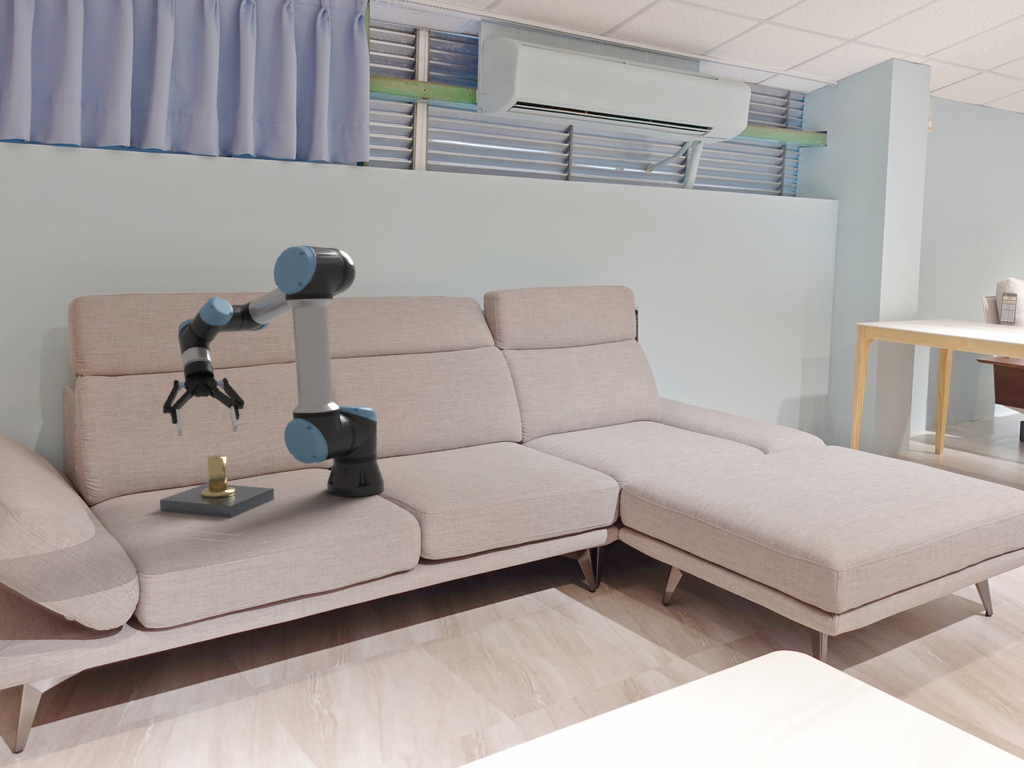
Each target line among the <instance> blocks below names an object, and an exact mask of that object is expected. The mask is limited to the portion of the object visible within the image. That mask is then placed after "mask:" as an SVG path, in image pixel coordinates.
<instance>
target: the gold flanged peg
mask: <svg viewBox="0 0 1024 768" xmlns="http://www.w3.org/2000/svg"><path fill="white" fill-rule="evenodd" d="M227 467H228V466H227V455H223V454H218V455H217V454H214V455H211V456H210V455H209V456H207V478H208V480H207V481H208V483H209V488H206V489H203V490H202V491H201V496H202V497H205V498H222V497H228V496H231V495H234V494H235V488H234V487H229V486H227V485H228V468H227Z"/></svg>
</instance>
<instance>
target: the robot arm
mask: <svg viewBox="0 0 1024 768" xmlns="http://www.w3.org/2000/svg"><path fill="white" fill-rule="evenodd" d="M273 279H274V283H275V285H276V286H277V288H275V289H272V290H270V291H269V292H267V293H264V294H263V295H261V296H259V297H257V298H255V299H252V300H251V301H249V302H247V303H244V304H231V303H230V302H229V301H227V299H224V298H220V297H219V296H217V297H214V296H213V297H211V298H208V300H207V301H206V302H205V304H203V305H202V306H201V307H200V309H199V311H198V312H197V314H196V315H195V316H194V318H188V319H186V320H184V321H181V323H180V324H179V325H178V328H177V331H178V332H177V333H178V334H177V335H178V336H177V339H178V342H179V349H180V355H181V360H182V362H181V363H182V368H183V375H184V382H183V381H179V380H178V379H174V380H173V387H172V389H171V391H170V392H169V395H168V397H167V399H166V400H165V402H164V404H163V409H162V413H163V414H170V417H171V423H172V424H173V425H176V427H177V435H178V436H179V437H180V436H182V435H183V434H182V433H183V426H182V420H181V413H180V410H181V409H182V408H183V406H185V405H186V404H187V402H189V401H190V400H191V399H192V398H193V397H195V398H200V397H204V398H206V397H207V398H208V397H212V398H213V399H216V400H217V401H219V402H220V403H221V404H223V405H224V406H226V407H227V408H228V409H229V415H230V420H231V426H232V430H233V431H232V432H235V433H236V432H237V430H238V422H237V421H238V420H240V411H239V410H243V409H244V405H245V400H244V399H243V398H242V397H241V396H240V395H239V394H238V392H237V391H236V390H235V389H234V387H232V386H231V385H230V383H229V380H228V378H226V377H224V378H222V379H221V380H216V378H215V377H216V376H215V373H214V367H213V361H212V357H211V356H212V355H211V349H210V344H211V343H212V342H213V341H214V340H215V338H216V337H217V336H218V335H219V334H220V333H232V332H257V331H262V330H265V329H266V328H268V325H270V323H271V322H273V321H274V320H277V319H279V318H282V317H283V316H285V315H288V314H291V313H292V320H293V321H292V322H293V324H292V325H293V337H294V351H295V353H294V354H295V357H294V358H295V369H296V384H297V386H296V387H297V400H298V402H297V405H296V406H295V407H294V408H293V409H292V420H291V421H289V422H288V423H287V425H286V426H285V428H284V434H283V436H284V443H285V446H286V449H287V450H288V452H289V454H290V455H291V456H293V458H294V459H295V460H297V462H300V463H303V464H316V463H317V464H321V463H323V462H324V461H328V460H332V462H333V463H332V466H331V470H330V472H329V477H328V479H327V481H326V491H327V493H328V494H329V493H330V494H329V495H331V494H333V495H332V496H335V495H337V497H343V496H344V498H345V497H348V498H349V497H350V498H353V497H354V498H355V497H357V498H358V497H366V496H372V495H375V494H376V495H377V494H379V493H382V492H383V491H384V489H385V485H384V484H385V480H384V477H383V476H382V473H381V470H380V467H379V463H378V455H377V453H378V447H377V446H378V444H377V443H378V442H377V441H378V437H377V435H378V434H377V433H378V427H377V425H378V421H377V412H376V410H375V409H374V408H372V407H369V406H358V405H338V404H336V403H335V401H334V395H333V394H334V393H333V378H332V362H331V345H330V344H331V343H330V342H331V341H330V328H329V327H330V326H329V325H330V324H329V311H328V307H329V305H330V304H332V302H333V301H334V297H335V296H338V295H339V294H342V293H344V292H346V291H347V290H349V288H350V287H351V286H352V285H353V283H354V281H355V279H356V266H355V263H354V261H353V259H352V257H350V256H349V254H348V253H346V251H345V252H344V250H342V249H339V248H335V247H321V246H310V245H297V246H295V245H294V246H290V247H287V248H286V249H284V250H283V251H282V252H280V254H279V256H278V257H277V259H276V261H275V263H274V267H273ZM183 388H184V389H185V392H184V393H183V394H182V395H181V396H180V397H179V398H178V399H177V401H175V399H176V398H177V395H178V393H179V392H180V391H181V390H182V389H183ZM220 389H221V390H223V391H224V392H225V393H223V391H221V390H220Z"/></svg>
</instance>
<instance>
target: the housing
mask: <svg viewBox="0 0 1024 768" xmlns="http://www.w3.org/2000/svg"><path fill="white" fill-rule="evenodd" d="M227 486H229V487H234V488H235V494H234V495H231V496H228V497H222V498H205V497H202V496H201V491H202V490H203V489H206V488H209V482H207V483H204V484H202V485H201V484H200V485H198V486H194V487H192V488H190V489H187V490H183V491H181V492H179V493H178V492H177V493H175V494H172V495H170V496H166V497H163V498H161V499H159V509H160V510H159V511H160V512H162V513H163V512H164V513H165V512H166V513H174V514H185V515H186V514H187V515H197V516H206V517H208V516H209V517H219V518H228V519H232V518H234V517H237V516H239V515H241V514H243V513H246V512H248V511H251V510H253V509H255V508H258V507H259V506H260V507H261V506H262V505H264V504H266V503H269V502H272V501H274V500H275V491H274V489H275V488H273V487H272V488H271V487H260V486H259V487H258V486H247V485H246V486H245V485H235V484H227Z"/></svg>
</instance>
